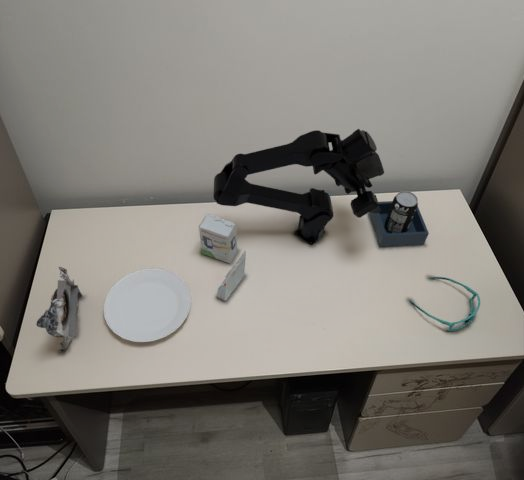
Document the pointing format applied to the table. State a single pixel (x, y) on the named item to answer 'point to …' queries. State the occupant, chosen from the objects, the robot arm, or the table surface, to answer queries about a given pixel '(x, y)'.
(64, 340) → the grey ornamental figurine
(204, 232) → the ink box
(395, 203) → the beverage can
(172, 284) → the plate
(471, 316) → the sunglasses
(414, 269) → the table surface
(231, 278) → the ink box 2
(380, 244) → the tub
